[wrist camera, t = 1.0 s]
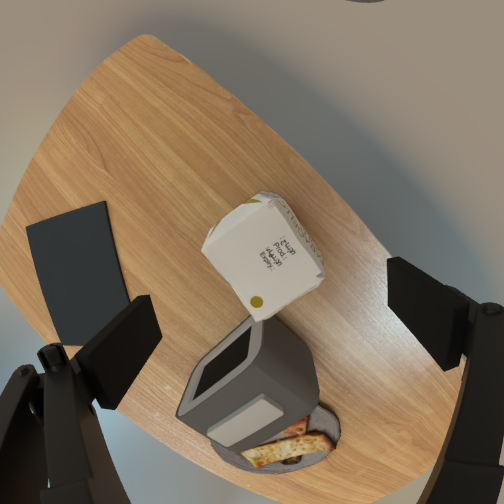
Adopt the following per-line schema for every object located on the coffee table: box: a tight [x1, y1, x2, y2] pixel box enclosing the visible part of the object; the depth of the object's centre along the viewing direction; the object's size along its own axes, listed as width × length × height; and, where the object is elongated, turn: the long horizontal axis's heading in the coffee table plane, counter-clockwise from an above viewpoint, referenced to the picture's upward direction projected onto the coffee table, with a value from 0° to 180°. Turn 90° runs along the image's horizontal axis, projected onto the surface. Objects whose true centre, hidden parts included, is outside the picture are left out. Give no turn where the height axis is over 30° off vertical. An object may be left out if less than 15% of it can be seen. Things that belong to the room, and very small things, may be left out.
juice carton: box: [201, 191, 326, 322], centre depth 29 cm, size 8×9×19 cm
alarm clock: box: [175, 315, 320, 453], centre depth 36 cm, size 16×11×16 cm
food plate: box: [210, 403, 341, 474], centre depth 46 cm, size 25×23×4 cm
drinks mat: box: [26, 201, 130, 346], centre depth 42 cm, size 24×20×1 cm
